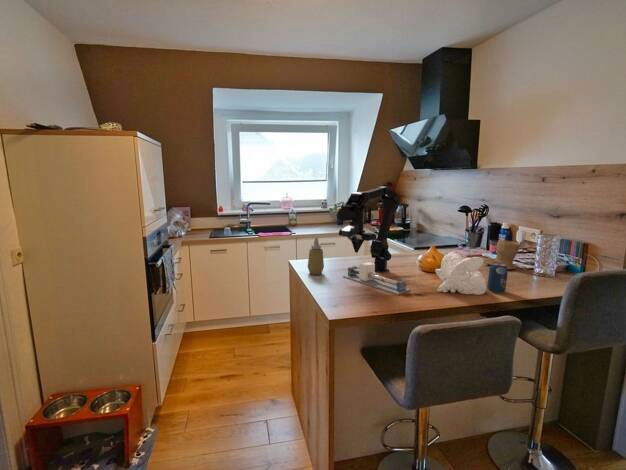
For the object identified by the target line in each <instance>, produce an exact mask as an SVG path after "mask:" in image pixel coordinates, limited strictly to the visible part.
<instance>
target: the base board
mask: <svg viewBox="0 0 626 470" xmlns="http://www.w3.org/2000/svg"><path fill="white" fill-rule="evenodd" d="M342 277H343V278H345V279H348V280H351V281H353V282H357V283H359V284H363V285H367V286H368V287H369V286H370V287H372V288H375V289H379V290H382V291H384V292H387V293H391V294H394V295H396V296H399V295H402V294H404V293H408V292H410V291H411V288H408V287H406V290H404V291H401V292H398V291H397V286H396V285H392V284H389V283H385V282H382V281H379V280H376V279H371V280H368V281H364V280H361V279H359V274H357V275H353V276H348V274H346V275H342Z"/></svg>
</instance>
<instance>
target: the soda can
mask: <svg viewBox="0 0 626 470" xmlns="http://www.w3.org/2000/svg"><path fill="white" fill-rule="evenodd" d="M508 271H509V269H508V268H507V265H506V264H504V263H498V262H493V263H492V264H491V265H489V271H488V277H487V278H488V279H487V285H486V288H487V289H488V291H489V292H490V291H491V293H493V292H494V293H493V294H503V293H504V292H506V289H507V282H508V281H507V280H508Z"/></svg>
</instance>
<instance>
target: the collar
mask: <svg viewBox="0 0 626 470" xmlns="http://www.w3.org/2000/svg"><path fill="white" fill-rule="evenodd" d="M358 270H359V279H361V280H364V281H368V280H371V279H373V278H369V277H368V273H371V274H375V273H376V271H375V264H374V262H370V261H367V262H364V263H359V269H358ZM375 275H376V274H375Z"/></svg>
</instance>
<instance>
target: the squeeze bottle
mask: <svg viewBox="0 0 626 470" xmlns="http://www.w3.org/2000/svg"><path fill="white" fill-rule="evenodd" d="M319 242H320V241H319V239H318V237H317V236H315V237H314V241H313V244H311V248H309V250H308V251H309V252H308V260H307V270H308V272H309V274H310V275H313V276H320V275H322V274H323V271H324V268H325V263H324V250H323V249H322V244H320V243H319Z"/></svg>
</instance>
